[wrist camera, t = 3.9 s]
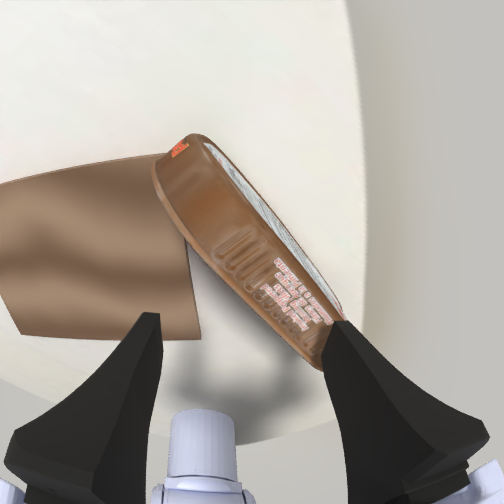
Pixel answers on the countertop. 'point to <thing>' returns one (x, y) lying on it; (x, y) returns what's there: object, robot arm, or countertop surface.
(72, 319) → the board
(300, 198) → the countertop surface
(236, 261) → the tin
